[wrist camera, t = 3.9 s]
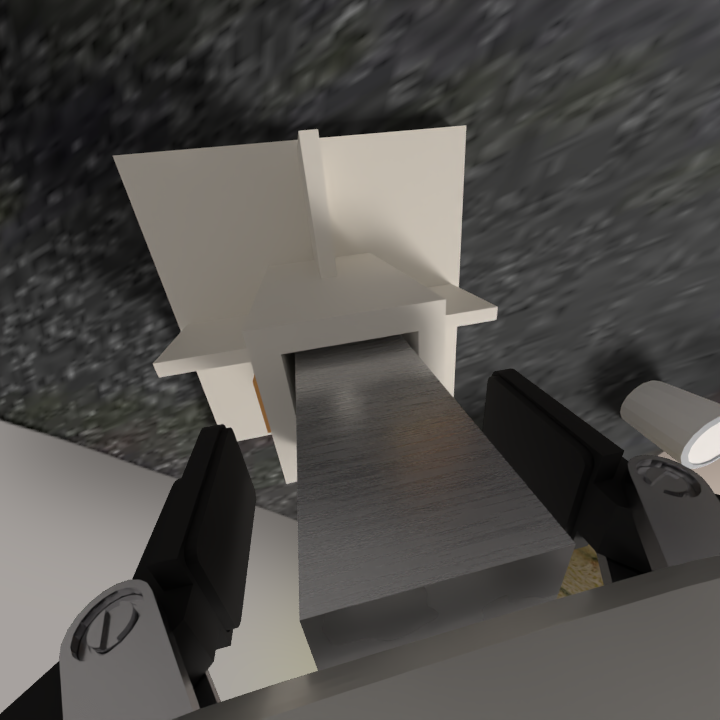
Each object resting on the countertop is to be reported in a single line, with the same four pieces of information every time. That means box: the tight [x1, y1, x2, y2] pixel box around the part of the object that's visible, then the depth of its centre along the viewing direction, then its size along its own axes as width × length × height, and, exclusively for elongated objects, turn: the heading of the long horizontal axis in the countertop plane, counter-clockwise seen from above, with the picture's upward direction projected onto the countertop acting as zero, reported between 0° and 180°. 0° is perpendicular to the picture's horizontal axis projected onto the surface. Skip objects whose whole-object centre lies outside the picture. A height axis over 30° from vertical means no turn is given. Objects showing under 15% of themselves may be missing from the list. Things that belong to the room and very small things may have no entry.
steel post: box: [295, 334, 576, 671], centre depth 13 cm, size 4×4×18 cm
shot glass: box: [620, 380, 720, 469], centre depth 33 cm, size 7×7×7 cm
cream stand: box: [113, 126, 498, 484], centre depth 18 cm, size 20×20×14 cm
